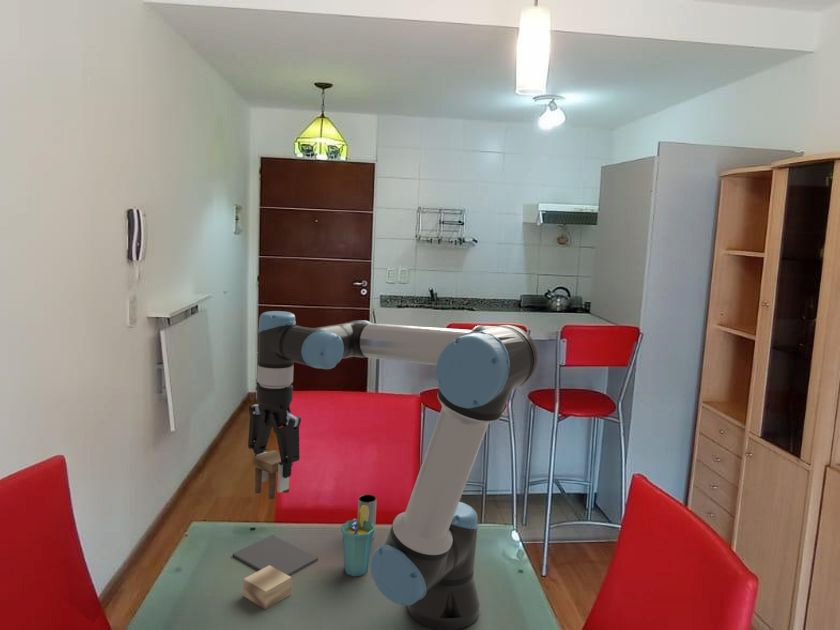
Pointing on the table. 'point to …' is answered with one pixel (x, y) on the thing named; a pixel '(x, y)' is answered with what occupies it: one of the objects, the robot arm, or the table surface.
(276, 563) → the mat
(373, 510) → the grey hollow cylinder
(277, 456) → the stool
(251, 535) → the table surface
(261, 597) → the oak block
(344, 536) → the cup
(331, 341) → the robot arm
